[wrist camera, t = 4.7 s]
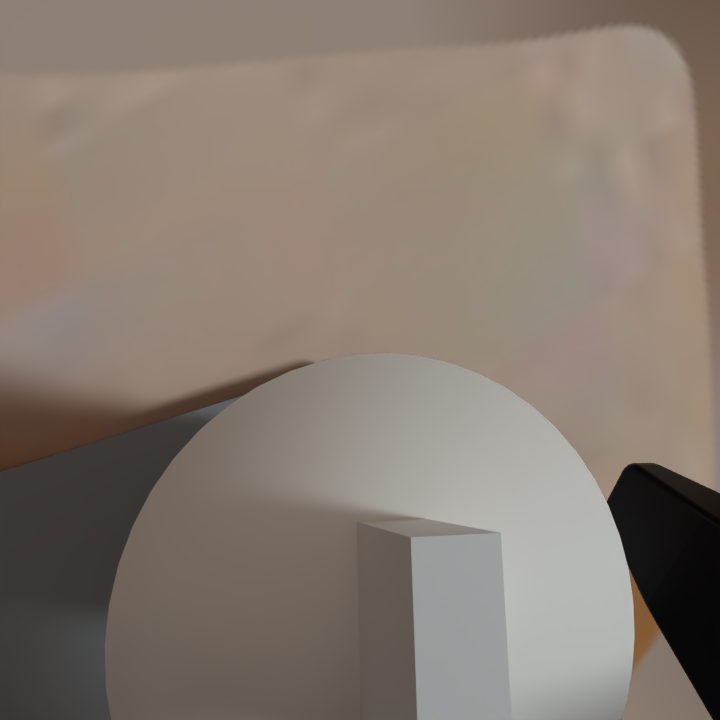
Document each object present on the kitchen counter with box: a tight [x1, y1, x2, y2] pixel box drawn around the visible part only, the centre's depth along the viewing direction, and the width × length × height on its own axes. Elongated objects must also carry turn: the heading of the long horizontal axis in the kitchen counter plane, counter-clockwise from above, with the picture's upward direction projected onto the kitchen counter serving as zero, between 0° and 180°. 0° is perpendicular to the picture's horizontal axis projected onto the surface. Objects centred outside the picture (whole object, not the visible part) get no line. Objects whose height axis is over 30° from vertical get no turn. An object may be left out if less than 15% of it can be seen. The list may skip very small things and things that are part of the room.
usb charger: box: [105, 353, 634, 720], centre depth 9 cm, size 4×4×11 cm
